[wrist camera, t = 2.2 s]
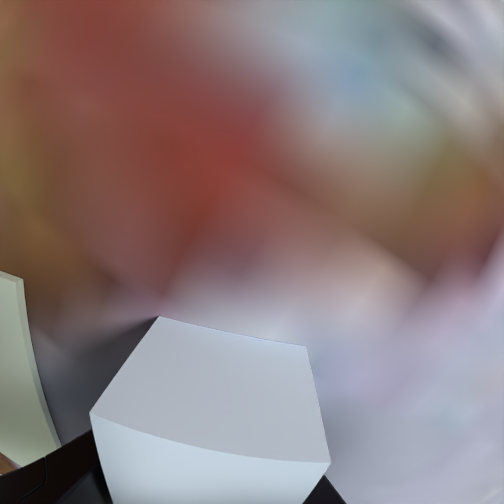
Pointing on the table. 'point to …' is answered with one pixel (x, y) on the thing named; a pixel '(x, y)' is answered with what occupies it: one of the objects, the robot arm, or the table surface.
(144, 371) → the brick blue
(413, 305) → the table surface
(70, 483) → the robot arm
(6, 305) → the baseplate
